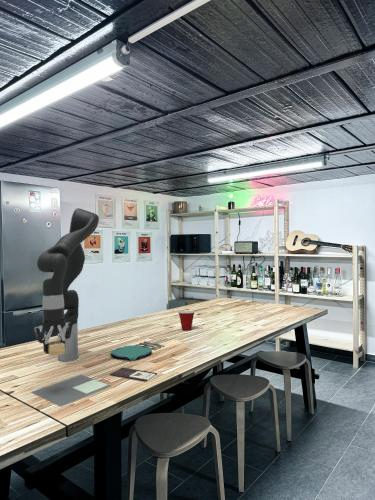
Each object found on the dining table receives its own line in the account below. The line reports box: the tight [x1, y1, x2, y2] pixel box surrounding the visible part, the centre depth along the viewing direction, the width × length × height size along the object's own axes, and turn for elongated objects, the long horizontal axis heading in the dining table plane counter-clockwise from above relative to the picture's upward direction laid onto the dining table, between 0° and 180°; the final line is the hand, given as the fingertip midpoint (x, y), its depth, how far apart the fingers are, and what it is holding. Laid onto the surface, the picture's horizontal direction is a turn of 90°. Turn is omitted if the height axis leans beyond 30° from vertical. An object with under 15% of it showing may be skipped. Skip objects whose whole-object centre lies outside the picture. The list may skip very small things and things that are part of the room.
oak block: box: [47, 339, 65, 357], centre depth 135 cm, size 8×5×4 cm, turn 38°
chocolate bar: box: [109, 367, 158, 383], centre depth 152 cm, size 9×1×18 cm
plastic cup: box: [177, 310, 196, 332], centre depth 229 cm, size 11×11×12 cm
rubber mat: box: [30, 374, 112, 408], centre depth 137 cm, size 20×22×1 cm
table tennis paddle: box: [110, 340, 166, 362], centre depth 184 cm, size 20×30×2 cm, turn 147°
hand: (54, 351), depth 135 cm, fingers closed on oak block, 5 cm apart
